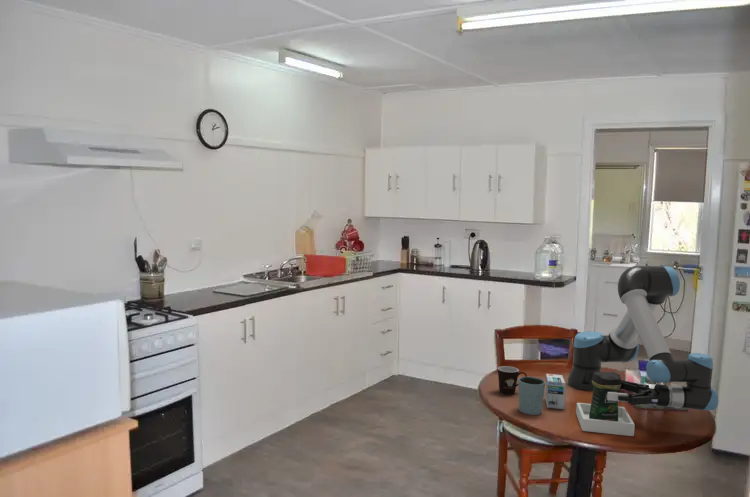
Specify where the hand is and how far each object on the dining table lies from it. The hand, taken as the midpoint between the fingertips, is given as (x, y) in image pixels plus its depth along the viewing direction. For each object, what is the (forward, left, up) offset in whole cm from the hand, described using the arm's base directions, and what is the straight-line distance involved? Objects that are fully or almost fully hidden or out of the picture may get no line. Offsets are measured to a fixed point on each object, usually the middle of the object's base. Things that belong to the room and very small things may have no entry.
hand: (604, 389), depth 210 cm
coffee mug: (+10, -40, -13) cm, 43 cm away
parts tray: (-1, 0, -13) cm, 13 cm away
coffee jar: (-1, 0, -12) cm, 12 cm away
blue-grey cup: (+16, -21, -13) cm, 29 cm away
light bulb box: (+2, -23, -13) cm, 26 cm away
